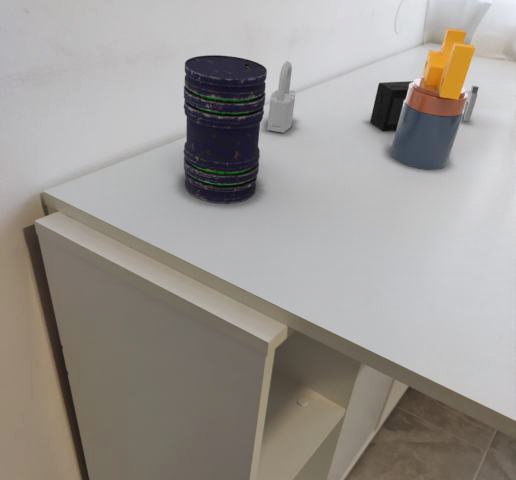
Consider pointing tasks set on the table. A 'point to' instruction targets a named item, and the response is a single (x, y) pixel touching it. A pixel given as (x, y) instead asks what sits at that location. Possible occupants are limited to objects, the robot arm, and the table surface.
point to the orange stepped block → (449, 64)
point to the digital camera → (389, 104)
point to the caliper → (470, 103)
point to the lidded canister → (427, 126)
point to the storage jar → (223, 127)
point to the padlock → (282, 102)
